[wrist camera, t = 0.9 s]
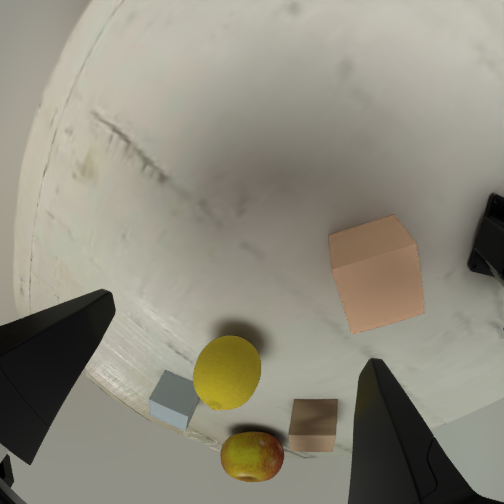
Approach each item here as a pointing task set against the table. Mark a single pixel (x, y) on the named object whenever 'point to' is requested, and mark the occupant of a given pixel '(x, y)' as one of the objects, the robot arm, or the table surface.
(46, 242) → the table surface
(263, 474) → the fruit
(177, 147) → the table surface
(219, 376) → the lemon
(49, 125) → the table surface
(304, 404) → the walnut block
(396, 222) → the terracotta block
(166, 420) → the slate block
